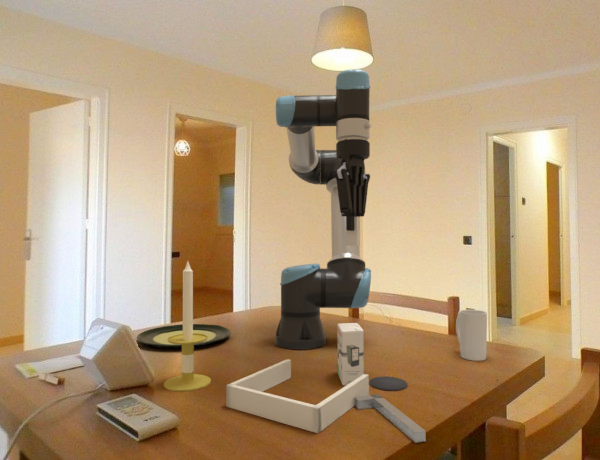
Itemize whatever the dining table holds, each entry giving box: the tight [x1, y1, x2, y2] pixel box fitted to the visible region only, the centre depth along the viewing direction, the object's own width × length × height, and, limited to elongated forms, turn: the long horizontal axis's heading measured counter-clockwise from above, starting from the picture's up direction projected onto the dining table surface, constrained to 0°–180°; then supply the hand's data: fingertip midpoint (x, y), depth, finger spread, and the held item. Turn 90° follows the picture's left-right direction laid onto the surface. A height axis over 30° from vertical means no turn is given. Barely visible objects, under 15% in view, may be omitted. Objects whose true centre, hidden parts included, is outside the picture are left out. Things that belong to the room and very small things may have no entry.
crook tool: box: [354, 393, 427, 444], centre depth 74 cm, size 5×16×2 cm, turn 16°
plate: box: [136, 323, 232, 349], centre depth 132 cm, size 28×28×2 cm
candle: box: [163, 261, 212, 392], centre depth 93 cm, size 10×10×27 cm
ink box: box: [336, 322, 365, 386], centre depth 96 cm, size 9×5×12 cm, turn 2°
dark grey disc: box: [369, 376, 408, 392], centre depth 92 cm, size 8×8×1 cm
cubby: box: [225, 358, 370, 434], centre depth 83 cm, size 20×20×4 cm
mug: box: [455, 309, 488, 362], centre depth 114 cm, size 10×7×12 cm, turn 17°
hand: (353, 245), depth 97 cm, fingers closed
